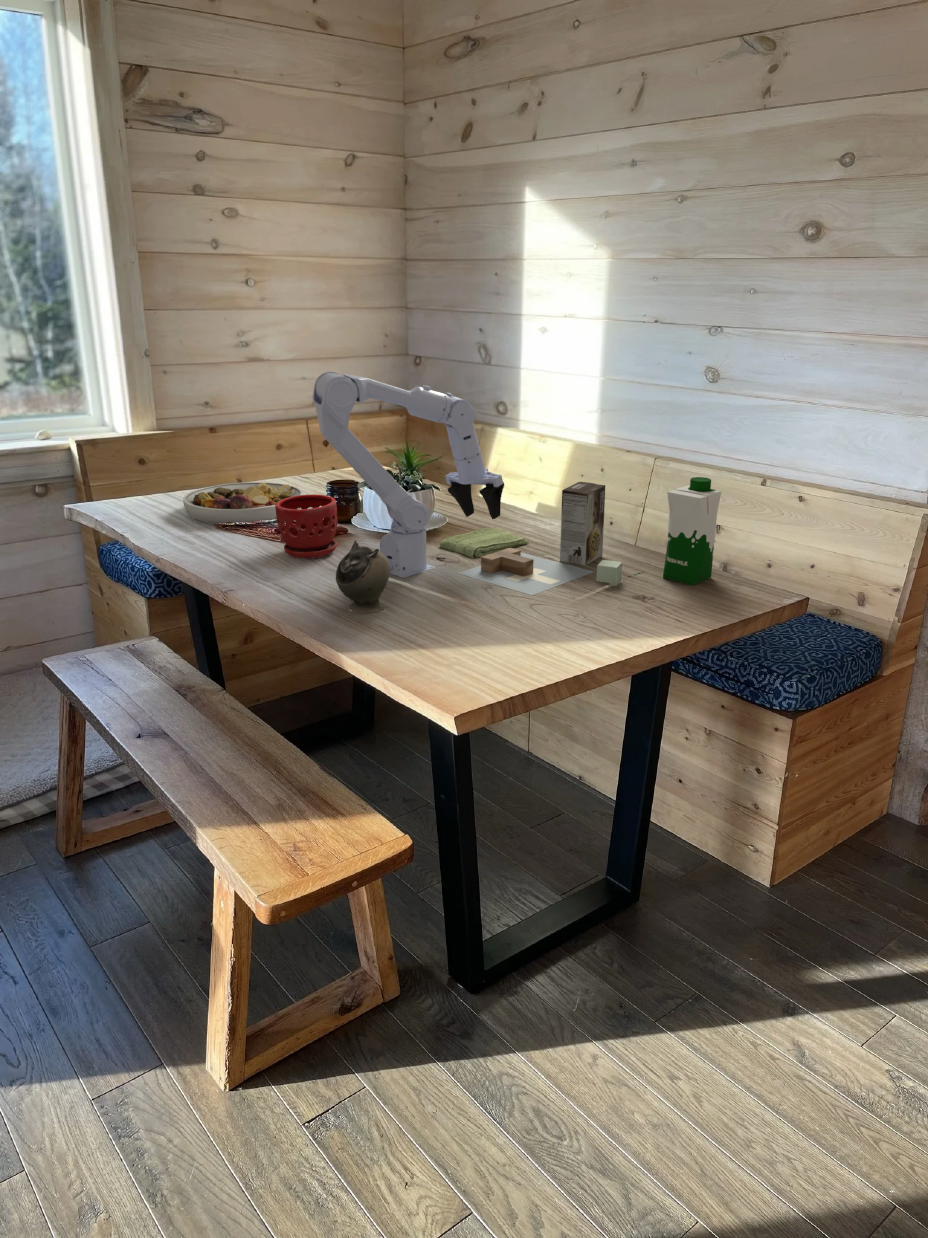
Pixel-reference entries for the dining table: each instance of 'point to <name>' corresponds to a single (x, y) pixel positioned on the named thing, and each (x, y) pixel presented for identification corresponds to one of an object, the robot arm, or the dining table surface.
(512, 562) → the tee block
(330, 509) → the plant pot
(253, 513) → the bowl
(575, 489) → the coffee box
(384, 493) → the robot arm
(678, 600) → the dining table surface
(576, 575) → the board
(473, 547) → the washcloth
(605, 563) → the sage cube
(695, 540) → the milk carton
